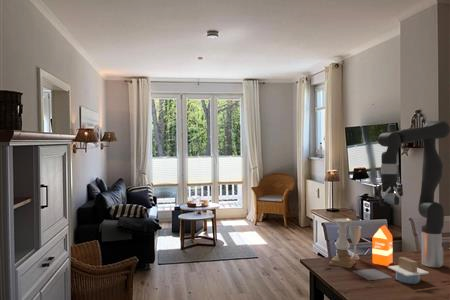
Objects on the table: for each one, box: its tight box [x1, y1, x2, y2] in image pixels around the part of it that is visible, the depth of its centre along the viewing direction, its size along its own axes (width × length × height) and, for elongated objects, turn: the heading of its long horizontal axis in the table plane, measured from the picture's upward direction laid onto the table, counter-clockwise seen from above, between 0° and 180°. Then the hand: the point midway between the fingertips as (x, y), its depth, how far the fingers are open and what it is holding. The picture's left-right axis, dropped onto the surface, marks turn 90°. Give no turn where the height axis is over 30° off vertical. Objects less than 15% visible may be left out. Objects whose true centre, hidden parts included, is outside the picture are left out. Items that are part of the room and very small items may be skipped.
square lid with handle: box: [387, 256, 430, 276], centre depth 169 cm, size 12×12×5 cm
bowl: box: [395, 271, 421, 285], centre depth 169 cm, size 10×10×5 cm
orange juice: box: [371, 224, 394, 267], centre depth 194 cm, size 8×9×20 cm
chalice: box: [348, 224, 362, 261], centre depth 202 cm, size 7×7×18 cm
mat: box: [352, 268, 393, 281], centre depth 176 cm, size 13×13×1 cm
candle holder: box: [329, 217, 357, 269], centre depth 193 cm, size 11×11×24 cm
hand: (389, 205), depth 181 cm, fingers open, 8 cm apart
